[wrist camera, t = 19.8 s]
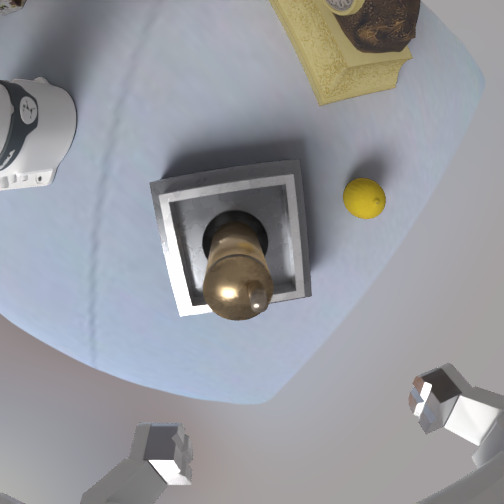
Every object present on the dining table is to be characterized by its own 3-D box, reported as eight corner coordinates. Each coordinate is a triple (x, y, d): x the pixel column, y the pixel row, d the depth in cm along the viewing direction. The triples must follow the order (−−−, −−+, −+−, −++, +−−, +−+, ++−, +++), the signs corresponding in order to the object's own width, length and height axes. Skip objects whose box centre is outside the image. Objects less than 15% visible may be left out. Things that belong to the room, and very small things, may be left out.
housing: (185, 296, 44) (177, 326, 36) (160, 179, 38) (143, 184, 30) (301, 278, 44) (316, 304, 36) (289, 159, 39) (305, 159, 31)
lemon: (328, 199, 41) (349, 208, 33) (348, 168, 40) (373, 171, 32) (355, 219, 42) (380, 232, 35) (374, 190, 41) (402, 198, 33)
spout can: (216, 269, 36) (209, 345, 21) (207, 225, 34) (191, 278, 19) (261, 261, 36) (283, 334, 21) (254, 217, 34) (274, 264, 19)
